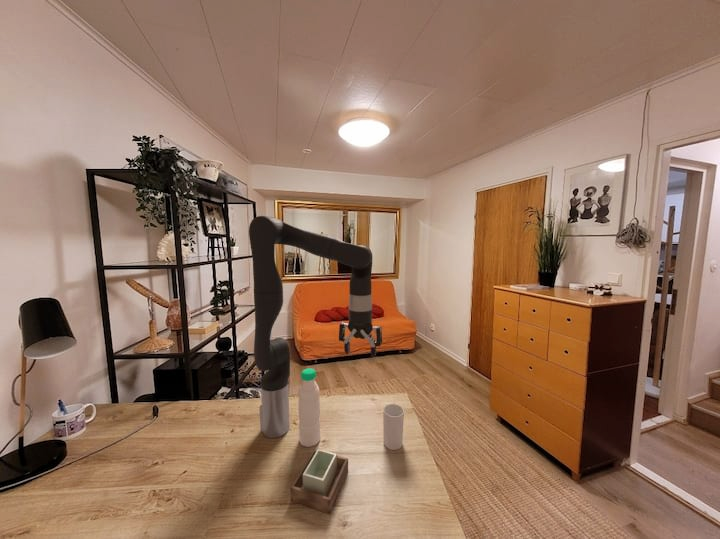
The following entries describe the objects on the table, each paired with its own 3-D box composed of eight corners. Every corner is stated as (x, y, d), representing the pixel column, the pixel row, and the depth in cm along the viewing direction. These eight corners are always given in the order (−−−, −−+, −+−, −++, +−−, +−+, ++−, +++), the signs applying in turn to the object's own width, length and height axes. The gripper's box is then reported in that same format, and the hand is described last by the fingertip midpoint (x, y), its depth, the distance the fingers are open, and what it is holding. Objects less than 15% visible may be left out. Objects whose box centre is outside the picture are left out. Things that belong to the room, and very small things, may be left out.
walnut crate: (290, 501, 71) (290, 487, 70) (314, 461, 83) (313, 449, 83) (330, 514, 67) (329, 500, 67) (348, 470, 80) (348, 458, 79)
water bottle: (324, 436, 94) (323, 368, 90) (312, 450, 87) (311, 378, 84) (307, 430, 96) (306, 364, 93) (295, 443, 90) (292, 373, 87)
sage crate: (303, 494, 72) (302, 474, 71) (318, 467, 80) (317, 448, 80) (323, 501, 70) (323, 480, 69) (336, 472, 79) (336, 453, 78)
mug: (402, 452, 87) (403, 418, 85) (382, 449, 88) (382, 415, 86) (403, 430, 97) (403, 399, 95) (384, 427, 98) (384, 397, 96)
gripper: (335, 308, 85) (335, 357, 87) (379, 312, 81) (378, 363, 83) (343, 302, 93) (344, 347, 95) (384, 306, 88) (383, 353, 90)
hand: (360, 355), depth 89 cm, fingers open, 8 cm apart
